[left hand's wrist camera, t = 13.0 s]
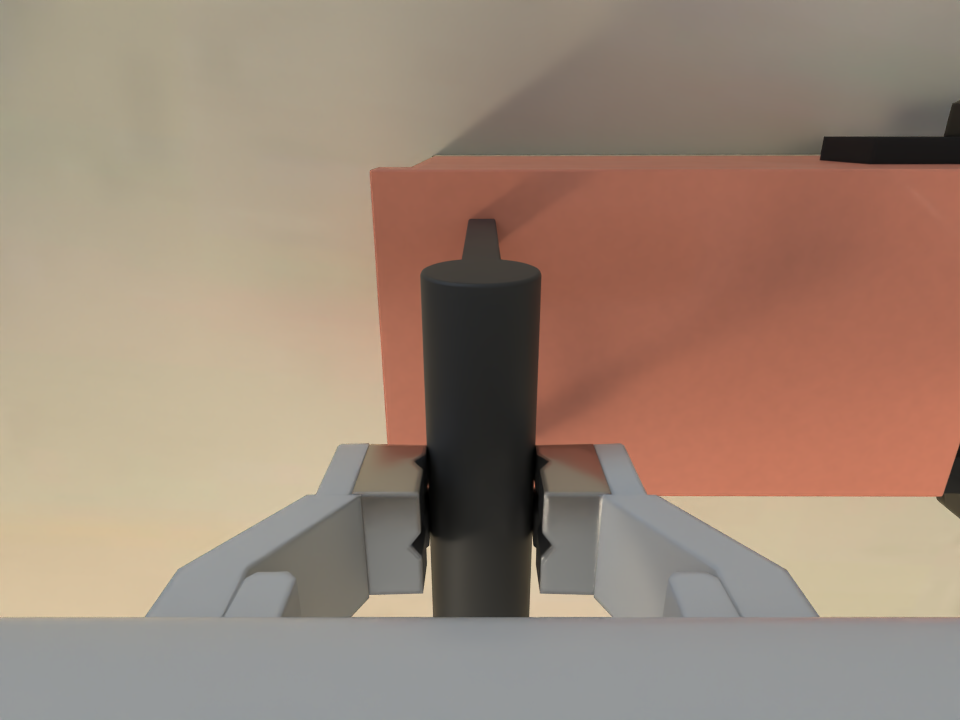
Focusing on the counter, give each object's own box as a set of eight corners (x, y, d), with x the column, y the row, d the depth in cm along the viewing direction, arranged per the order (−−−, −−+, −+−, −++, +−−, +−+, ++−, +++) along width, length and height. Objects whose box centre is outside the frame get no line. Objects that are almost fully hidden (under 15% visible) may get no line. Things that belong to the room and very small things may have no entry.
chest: (440, 372, 28) (422, 476, 19) (434, 155, 24) (409, 166, 16) (785, 372, 28) (917, 477, 19) (828, 154, 24) (1013, 165, 16)
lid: (395, 476, 19) (330, 733, 11) (376, 167, 16) (260, 203, 8) (918, 477, 19) (1246, 737, 11) (1014, 166, 16) (1599, 202, 7)
